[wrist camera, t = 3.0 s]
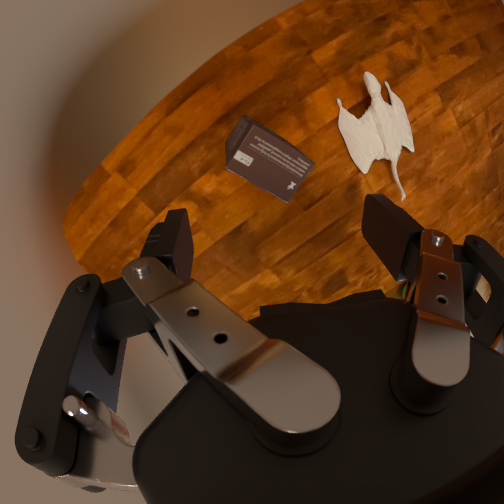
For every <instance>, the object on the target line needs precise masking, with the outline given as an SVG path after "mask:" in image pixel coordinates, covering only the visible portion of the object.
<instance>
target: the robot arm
mask: <svg viewBox="0 0 504 504" xmlns="http://www.w3.org/2000/svg"><path fill="white" fill-rule="evenodd" d="M361 228H362V234H363V237H364V238H365V240H366V241H367V242H368V244H369V245H370V246H371V248H372V249H373V250H374V252H375V253H376V254H377V256H378V257H379V258H380V260H381V261H382V262H383V264H384V265H385V266H386V268H387V269H388V271H389V272H390V273H391V275H392V276H393V278H394V279H395V280H396V281H400V280H406V279H408V281H407V284H406V287H405V292H404V297H403V300H400V299H395V298H386V296H385V295H384V293H383V292H382V290H381V289H378V290H373V291H367V292H361V293H355V294H352V295H349V296H347V297H344V298H342V299H339V300H337V301H334V302H331V303H328V304H312V303H293V302H292V303H284V304H276V305H267V306H260V316H259V317H256V318H254V319H251V320H249V321H246V320H244V319H243V318H242V317H240V316H239V315H238V314H237V313H235V312H234V311H233V310H231V309H230V308H229V307H228V306H226V305H225V304H224V303H223V302H221V301H220V300H219V299H218V298H216V297H215V296H214V295H213V294H212V293H210V292H209V291H208V290H207V289H205V288H204V287H203V286H202V285H201V284H199V283H198V282H197V281H196V280H194V279H190V276H191V269H192V262H193V254H194V248H193V240H192V235H191V229H190V224H189V219H188V213H187V210H186V208H184V209H176V210H169V211H168V213H167V216H166V218H165V221H164V222H161V223H157V224H156V225H155V226H154V227H153V228H152V229H151V230H150V233H149V235H148V237H147V240H146V243H145V244H144V247H143V249H142V252H141V254H140V257H139V258H138V259H135V260H133V261H131V262H130V263H128V264H127V265H126V266H125V267H124V269H123V271H122V277H121V278H118V279H116V280H112V281H109V282H106V283H103V284H102V282H101V280H100V278H99V276H98V275H96V274H86V275H82V276H80V277H78V278H76V279H75V280H73V281H72V282H71V283H70V284H69V286H68V287H67V289H66V291H65V293H64V295H63V297H62V299H61V301H60V304H59V306H58V308H57V310H56V312H55V315H54V317H53V319H52V322H51V324H50V326H49V328H48V331H47V333H46V336H45V338H44V341H43V343H42V346H41V348H40V351H39V354H38V356H37V359H36V362H35V365H34V368H33V371H32V374H31V377H30V380H29V383H28V387H27V390H26V393H25V396H24V400H23V404H22V408H21V411H20V415H19V419H18V424H17V428H16V433H15V446H16V449H17V452H18V454H19V456H20V457H21V458H22V459H23V460H24V461H25V462H26V463H28V464H30V465H32V466H34V467H35V468H37V469H39V470H41V471H43V472H44V473H46V474H47V475H49V476H51V477H53V478H55V479H57V480H59V481H61V482H64V483H66V484H69V485H71V486H73V487H78V488H81V489H84V490H86V491H89V492H94V493H97V492H102V491H104V490H105V489H106V488H109V489H115V490H122V491H130V492H139V493H142V495H143V497H144V498H145V500H146V502H147V504H504V258H503V257H502V256H501V255H500V254H499V253H498V252H497V251H496V250H495V249H494V248H493V247H492V246H491V245H490V244H489V243H488V242H487V241H485V240H484V239H483V238H481V237H478V236H475V235H467V236H466V238H465V241H464V244H463V245H455V244H452V241H451V239H450V238H449V237H448V236H447V235H446V234H444V233H443V232H440V231H438V230H434V229H426V230H425V229H424V228H423V227H422V226H421V225H420V224H419V223H418V222H417V221H416V220H415V219H413V218H412V217H411V216H410V215H409V214H408V213H407V212H406V211H404V210H403V209H402V208H401V207H399V206H397V205H395V204H394V203H393V202H392V201H391V200H389V199H388V198H387V197H386V196H385V195H383V194H368V195H367V196H366V197H365V203H364V211H363V218H362V226H361ZM482 275H483V276H484V278H485V279H486V280H487V281H488V282H489V284H490V286H491V296H490V298H489V300H488V302H487V304H486V302H485V301H484V300H483V298H482V297H481V296H480V294H479V293H478V292H477V290H476V287H477V285H478V282H479V280H480V278H481V276H482ZM465 323H466V324H467V326H468V327H466V326H465ZM469 329H470V330H469ZM470 331H471V332H472V334H473V336H474V337H475V338H473V337H472V336H470ZM145 332H147V334H148V335H149V337H150V338H151V339H152V341H153V342H154V343H155V345H156V346H157V347H158V349H159V350H160V351H161V353H162V354H163V355H164V356H165V358H166V359H167V360H168V361H169V363H170V364H171V365H172V367H173V368H174V370H175V371H176V373H177V374H178V376H179V377H180V379H181V380H182V382H183V383H184V384H185V386H184V387H183V388H182V389H181V390H180V391H179V393H178V394H177V395H176V396H175V397H174V398H173V399H172V400H171V402H170V403H169V404H168V405H167V406H166V407H165V408H164V409H163V411H162V412H161V413H160V414H159V415H158V416H157V417H156V418H155V419H154V420H153V421H152V422H151V424H150V425H149V426H148V427H147V428H146V429H145V430H144V431H143V433H142V434H141V436H140V437H139V439H138V440H137V442H136V445H135V446H132V445H131V443H130V440H129V434H128V429H127V426H126V424H125V423H124V421H123V420H122V419H121V418H120V417H118V416H117V415H116V410H117V402H118V393H119V386H120V379H121V372H122V366H123V360H124V354H125V349H126V343H127V338H129V337H132V336H136V335H139V334H142V333H145Z"/></svg>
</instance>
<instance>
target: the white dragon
mask: <svg viewBox="0 0 504 504" xmlns="http://www.w3.org/2000/svg"><path fill="white" fill-rule="evenodd" d="M363 79H364V82H365V84H366V87H367V90H368V92H369V93H370V96H371V99H372V101H371V105H370V107H368V111H367V110H366V112H365V115H363V116H362V117H361V118H360V119H356V118H355V116H354V115H352V114H350V113H349V112H348V111H347V110H345V109H344V108H343V107H342V104H341V101H340V99H339V98H338V99H337V103H338V105H339V107H340V113H339V121H338V126H339V130H340V132H341V134H342V136H343V138H344V140H345V143H346V146H347V148H348V151H349V153H350V156H351V157H352V159H353V161H354V163H355V164H356V165H357V167H358V168H359V169H360V170H361V171H362V172H363V173H364V174H367V172H368V170H369V168H370V165H371V163H372V162H373V160H374V159H377V160H379V159H380V160H381V159H382V158H386V159H387V160H388V159H390V160H391V161H392V163H391V165H392V166H391V167H392V169H391V170H393V171H392V172H393V173H394V174H392V175H393V176H394V177H395V180H396V182H397V184H398V187H399V188H400V189H399V190H401V191H402V192H401V193H402V194H401V196H402V199H401V200H403V198H404V197H406V195H405V193H404V192H403V189H402V187H401V184H400V182H399V179H398V175H397V170H396V164H397V161H398V157H399V155H400V153H401V152H400V150H401V149H402V147H401V146H405V147H407V148H408V149H409V150H410V151H412V152H414V146H413V138H412V131H411V127H410V123H409V120H408V117H407V114H406V111H405V108H404V105H403V102H402V101H401V100H400V99H399V98H398V97H397V96H396V95H395V94H394V93H393V92H392V91H391V90H390V87H389V85H388V83H387V82H386V81H385V82H384V83H385V86H386V87H387V89H388V91H389V96H390V100H391V105H392V106H391V105H390V106H389V104H386V103H387V102H384V101H383V99H382V97H381V94H380V91H381V90H380V89H381V86H380V84H379V83H378V81H377V79H376V78H375V76H374V75H373V74H371V73H369V72H365V73H364V76H363Z"/></svg>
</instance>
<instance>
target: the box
mask: <svg viewBox="0 0 504 504" xmlns="http://www.w3.org/2000/svg"><path fill="white" fill-rule="evenodd" d="M225 147H226V168H227V169H228V170H229V171H231V172H233V173H235V174H237V175H239V176H241V177H243V178H244V179H246V180H248V181H250V182H251V183H252V184H253V185H255V186H256V187H258V188H260V189H262V190H265V191H268V192H269V193H271V194H273V195H274V196H276V197H278V198H280V199H281V200H283V201H285V202H286V203H288V202H289V201H290V199H291V198H292V196H293V195H294V193H295V192H296V190H297V189H298V188H299V186H300V185H301V183H302V182H303V181H304V179H305V178H306V176H307V175H308V174H309V172H310V171H311V169H312V168H313V166H314V165H315V163H314V162H313V161H312V160H311V159H309V158H308V157H307V156H305V155H304V154H303V153H302V152H301V151H299V150H298V149H297V148H295V147H294V146H293V145H292V144H291V143H289V142H288V141H287V140H285V139H284V138H282V137H281V136H279V135H277V134H276V133H274V132H272V131H271V130H269V129H267V128H266V127H264V126H262V125H261V124H259V123H257V122H255V121H254V120H252V119H250V118H249V117H247V116H245V115H243V116H242V117H241V119H240V120H239V122H238V124H237V125H236V127H235V128H234V130H233V131H232V133H231V134H230V136H229V138H228V139H227V141H226V142H225Z"/></svg>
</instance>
